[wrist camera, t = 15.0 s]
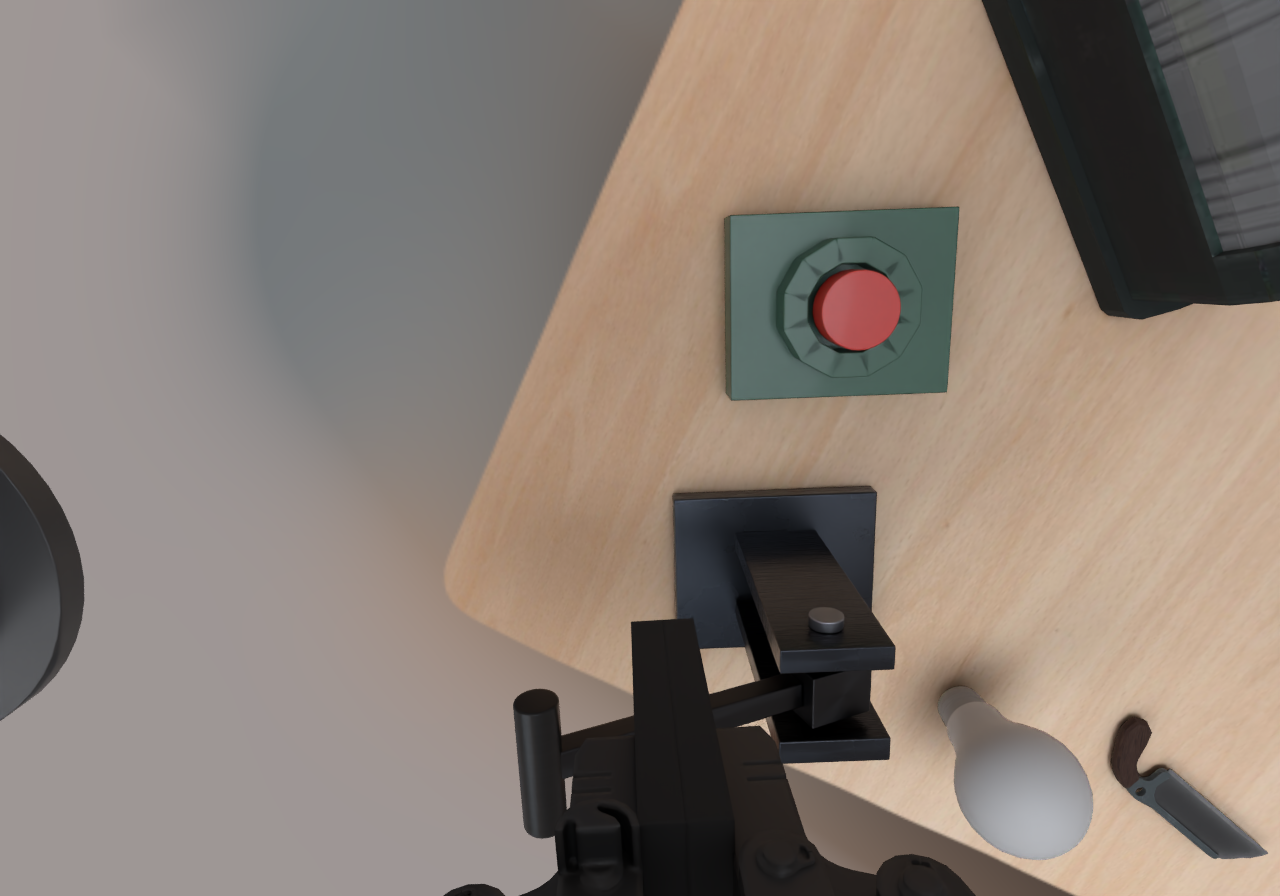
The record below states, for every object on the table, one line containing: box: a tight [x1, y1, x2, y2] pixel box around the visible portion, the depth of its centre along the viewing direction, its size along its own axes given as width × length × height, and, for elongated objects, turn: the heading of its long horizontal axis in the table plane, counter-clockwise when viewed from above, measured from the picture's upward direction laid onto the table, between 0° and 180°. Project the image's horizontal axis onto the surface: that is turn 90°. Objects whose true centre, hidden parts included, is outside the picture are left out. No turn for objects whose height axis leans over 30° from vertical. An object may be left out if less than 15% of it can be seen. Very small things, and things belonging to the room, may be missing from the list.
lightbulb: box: [938, 686, 1093, 860], centre depth 39 cm, size 6×6×11 cm
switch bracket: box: [673, 486, 895, 764], centre depth 35 cm, size 11×9×14 cm
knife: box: [1111, 717, 1268, 859], centre depth 45 cm, size 14×4×1 cm, turn 50°
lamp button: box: [813, 269, 901, 350], centre depth 34 cm, size 4×4×2 cm
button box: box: [724, 207, 959, 400], centre depth 36 cm, size 11×9×4 cm
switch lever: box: [513, 670, 871, 838], centre depth 28 cm, size 14×5×2 cm, turn 92°
